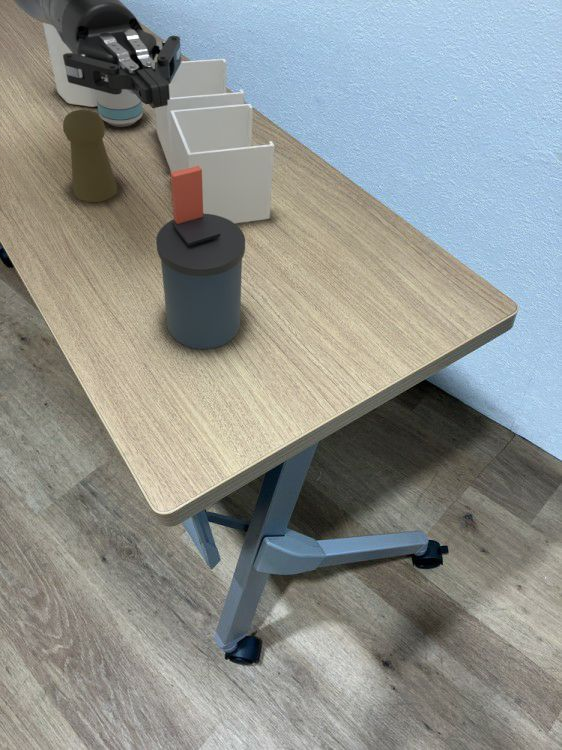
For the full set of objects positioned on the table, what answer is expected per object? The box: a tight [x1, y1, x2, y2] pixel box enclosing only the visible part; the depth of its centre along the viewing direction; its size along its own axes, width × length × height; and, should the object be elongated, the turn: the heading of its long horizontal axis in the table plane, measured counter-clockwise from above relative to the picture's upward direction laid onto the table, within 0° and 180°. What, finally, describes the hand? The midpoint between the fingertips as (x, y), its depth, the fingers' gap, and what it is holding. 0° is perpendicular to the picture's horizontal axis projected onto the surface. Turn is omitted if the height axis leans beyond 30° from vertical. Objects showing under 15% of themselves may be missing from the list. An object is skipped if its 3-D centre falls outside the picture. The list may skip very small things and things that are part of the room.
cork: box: [62, 109, 118, 203], centre depth 83 cm, size 6×6×11 cm
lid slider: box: [170, 166, 220, 246], centre depth 61 cm, size 4×4×6 cm
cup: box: [42, 22, 98, 108], centre depth 98 cm, size 11×11×18 cm
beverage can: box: [95, 77, 144, 128], centre depth 95 cm, size 7×7×12 cm
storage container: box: [154, 58, 275, 224], centre depth 87 cm, size 25×11×11 cm, turn 18°
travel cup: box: [155, 214, 246, 350], centre depth 67 cm, size 9×9×12 cm
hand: (160, 97), depth 58 cm, fingers closed
